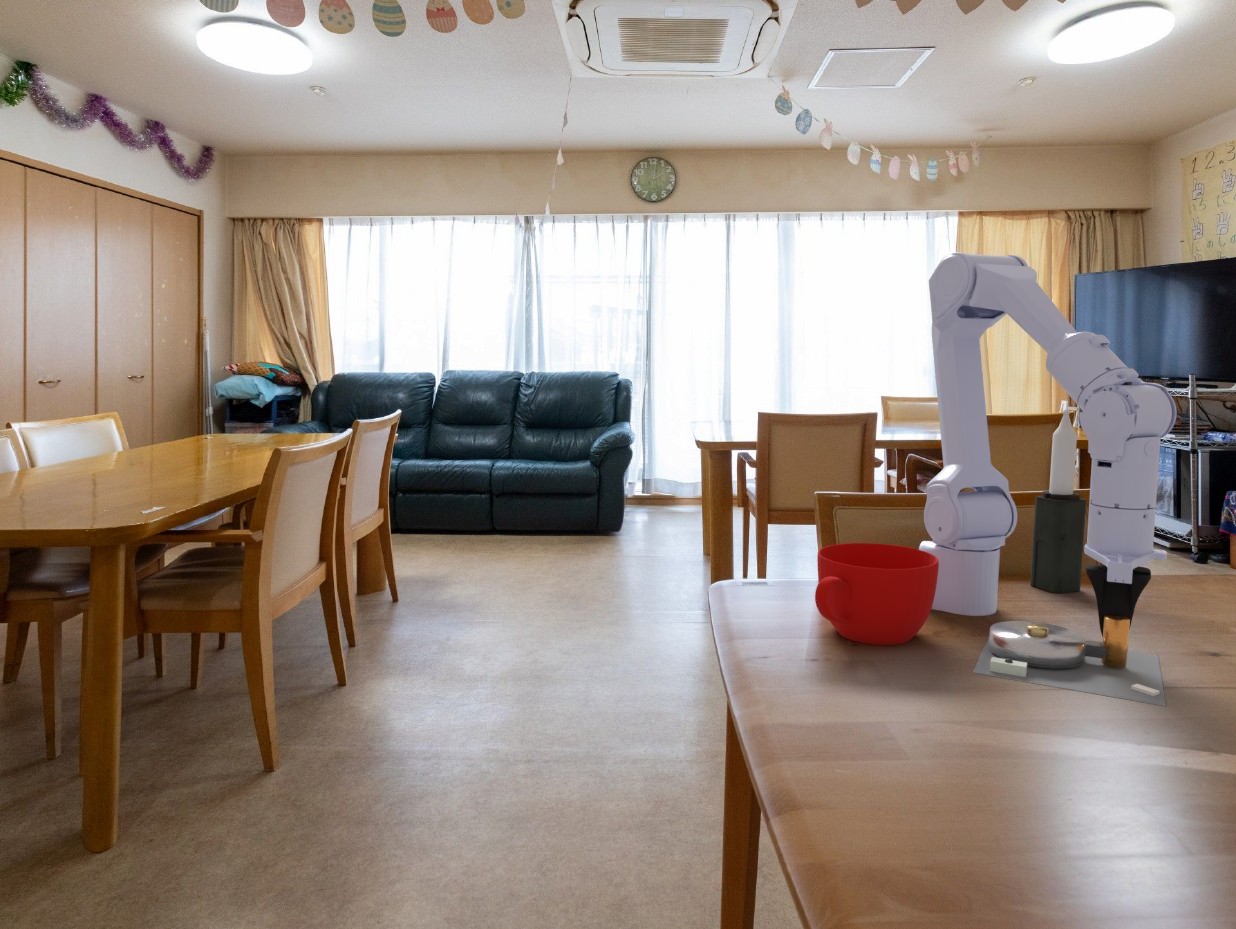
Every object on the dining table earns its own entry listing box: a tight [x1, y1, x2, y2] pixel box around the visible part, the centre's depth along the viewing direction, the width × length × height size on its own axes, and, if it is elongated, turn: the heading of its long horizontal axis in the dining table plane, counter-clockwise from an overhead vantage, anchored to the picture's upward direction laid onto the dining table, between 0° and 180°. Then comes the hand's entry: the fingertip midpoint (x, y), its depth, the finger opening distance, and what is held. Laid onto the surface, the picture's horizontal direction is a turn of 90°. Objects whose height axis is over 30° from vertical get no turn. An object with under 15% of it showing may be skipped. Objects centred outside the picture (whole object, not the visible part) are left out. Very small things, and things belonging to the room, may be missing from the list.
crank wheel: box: [988, 615, 1131, 668], centre depth 86 cm, size 13×9×5 cm
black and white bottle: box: [1029, 408, 1087, 594], centre depth 116 cm, size 5×5×25 cm
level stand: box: [972, 634, 1167, 707], centre depth 85 cm, size 16×15×2 cm
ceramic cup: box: [814, 542, 939, 646], centre depth 93 cm, size 13×17×10 cm
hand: (1113, 636), depth 85 cm, fingers closed, pressing on crank wheel
